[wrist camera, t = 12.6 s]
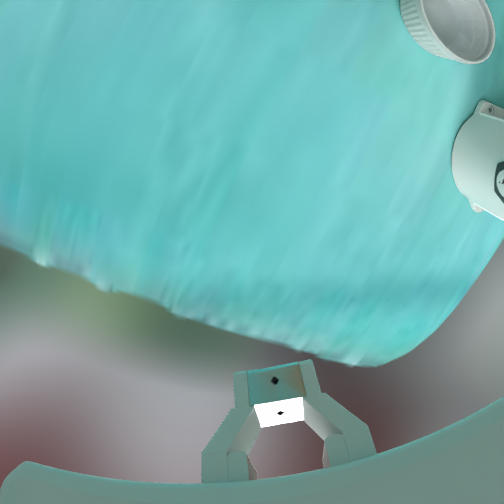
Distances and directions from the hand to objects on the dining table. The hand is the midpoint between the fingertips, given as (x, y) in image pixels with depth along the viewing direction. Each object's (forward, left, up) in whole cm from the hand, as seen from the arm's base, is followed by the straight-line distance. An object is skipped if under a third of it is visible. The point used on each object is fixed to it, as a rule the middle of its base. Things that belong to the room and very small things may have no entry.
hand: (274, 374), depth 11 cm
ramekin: (-29, -19, -29) cm, 46 cm away
